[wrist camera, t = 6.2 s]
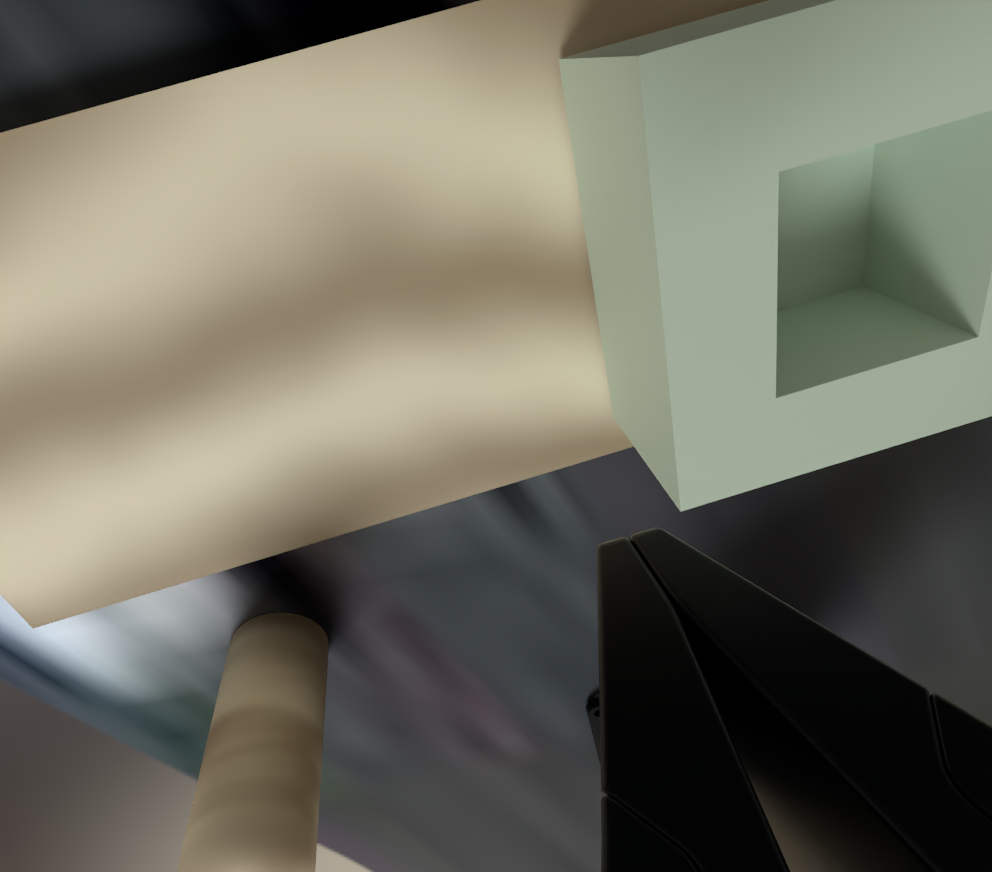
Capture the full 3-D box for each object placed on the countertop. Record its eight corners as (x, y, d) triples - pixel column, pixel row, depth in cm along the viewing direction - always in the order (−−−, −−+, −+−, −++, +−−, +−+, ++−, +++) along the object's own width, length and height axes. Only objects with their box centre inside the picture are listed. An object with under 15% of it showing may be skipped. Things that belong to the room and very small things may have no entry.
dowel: (342, 662, 25) (334, 884, 18) (254, 689, 25) (213, 923, 18) (307, 600, 23) (284, 824, 16) (212, 630, 23) (148, 866, 16)
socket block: (907, 328, 20) (1051, 397, 16) (613, 416, 20) (680, 511, 16) (959, -54, 15) (1195, -101, 11) (558, 59, 15) (638, 55, 10)
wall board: (934, 337, 22) (1144, 436, 16) (46, 605, 21) (-79, 817, 15) (1012, -145, 15) (1429, -281, 9) (-304, 218, 14) (-787, 328, 8)
